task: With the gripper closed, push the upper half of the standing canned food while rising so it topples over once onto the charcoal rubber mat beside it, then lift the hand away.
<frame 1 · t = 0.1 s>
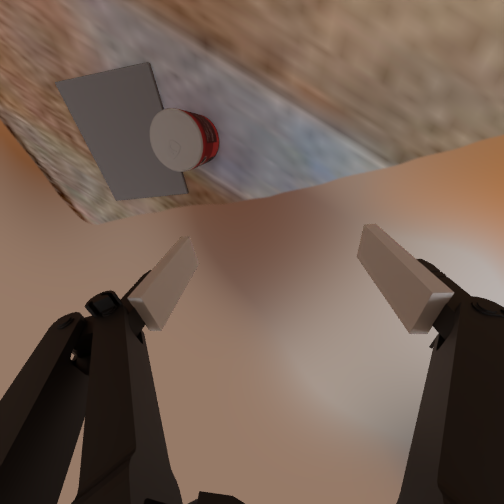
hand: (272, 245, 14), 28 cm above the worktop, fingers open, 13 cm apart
rubber mat: (130, 144, 37), on the worktop
canned food: (200, 140, 36), on the worktop
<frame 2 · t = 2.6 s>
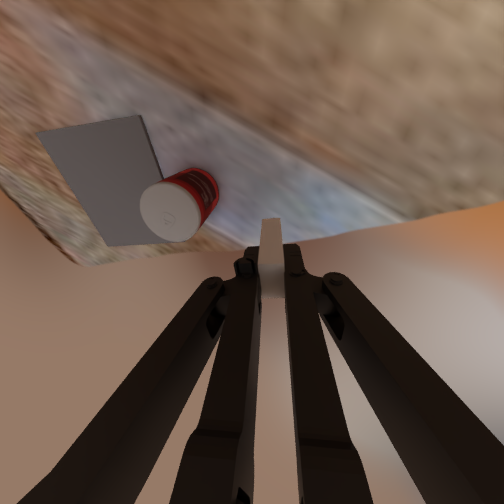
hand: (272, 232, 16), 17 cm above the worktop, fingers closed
rubber mat: (122, 193, 34), on the worktop
canned food: (198, 191, 32), on the worktop
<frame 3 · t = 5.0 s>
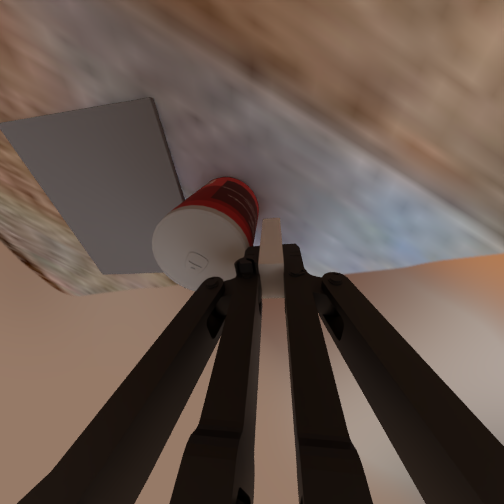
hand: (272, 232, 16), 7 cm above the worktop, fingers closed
rubber mat: (122, 209, 25), on the worktop
canned food: (229, 207, 23), on the worktop, touching gripper
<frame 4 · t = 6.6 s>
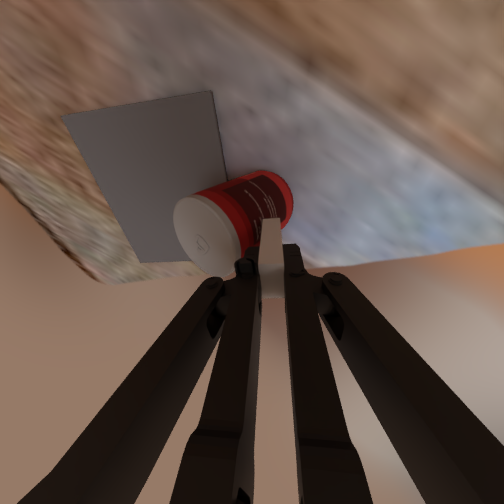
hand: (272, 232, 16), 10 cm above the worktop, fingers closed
rubber mat: (168, 198, 26), on the worktop
canned food: (267, 201, 23), point 2 cm above the worktop, touching gripper
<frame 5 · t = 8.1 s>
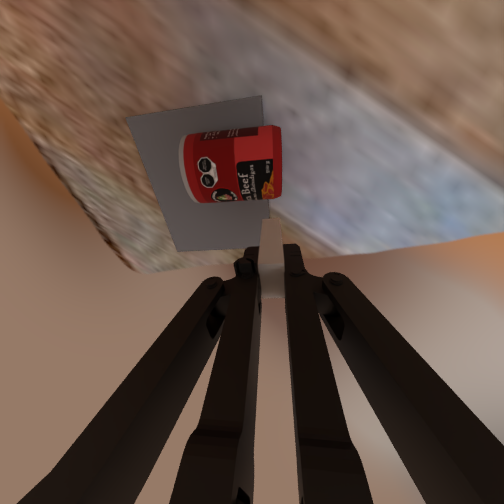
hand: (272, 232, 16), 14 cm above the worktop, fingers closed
rubber mat: (210, 191, 29), on the worktop
canned food: (282, 163, 22), point 4 cm above the worktop, touching rubber mat
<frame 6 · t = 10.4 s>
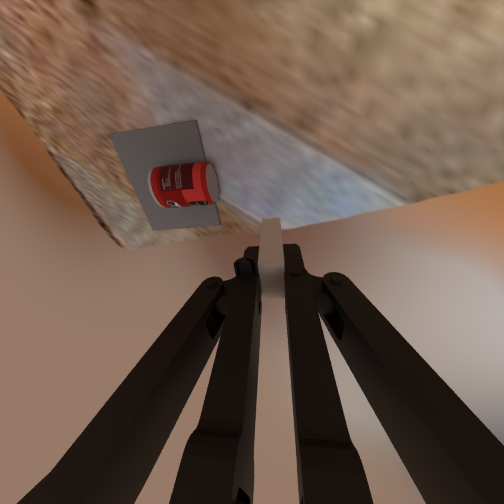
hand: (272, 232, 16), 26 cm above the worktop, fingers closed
rubber mat: (171, 184, 41), on the worktop
canned food: (213, 183, 36), point 4 cm above the worktop, touching rubber mat
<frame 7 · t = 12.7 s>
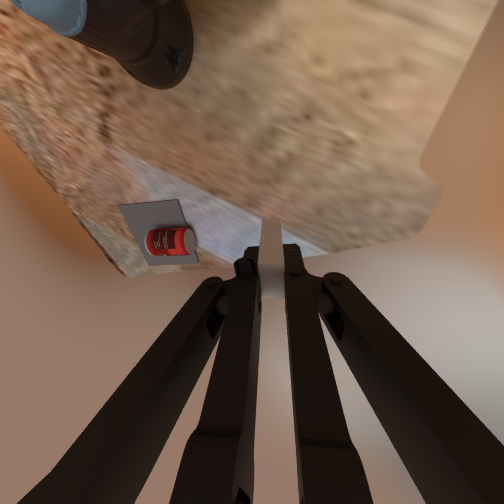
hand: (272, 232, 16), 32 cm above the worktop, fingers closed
rubber mat: (162, 235, 56), on the worktop
canned food: (190, 241, 51), point 4 cm above the worktop, touching rubber mat
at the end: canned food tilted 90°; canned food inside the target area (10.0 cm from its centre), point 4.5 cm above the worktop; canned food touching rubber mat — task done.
